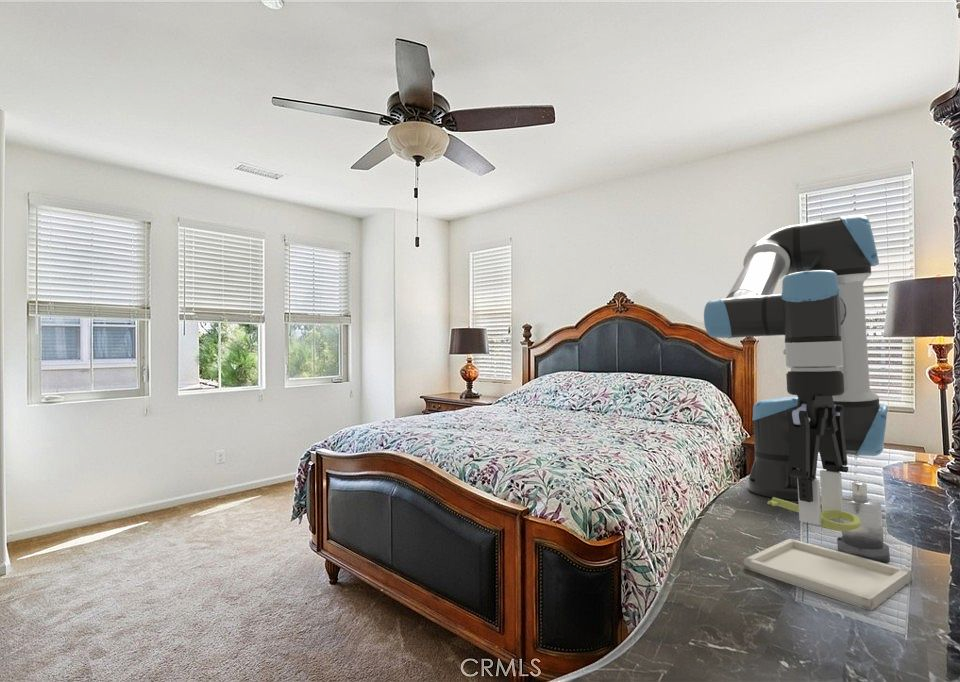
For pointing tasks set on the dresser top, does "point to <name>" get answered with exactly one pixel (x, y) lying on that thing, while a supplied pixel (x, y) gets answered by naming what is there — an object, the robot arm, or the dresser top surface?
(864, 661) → the dresser top surface
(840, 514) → the key
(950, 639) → the dresser top surface
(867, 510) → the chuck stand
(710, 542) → the dresser top surface
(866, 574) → the tray
